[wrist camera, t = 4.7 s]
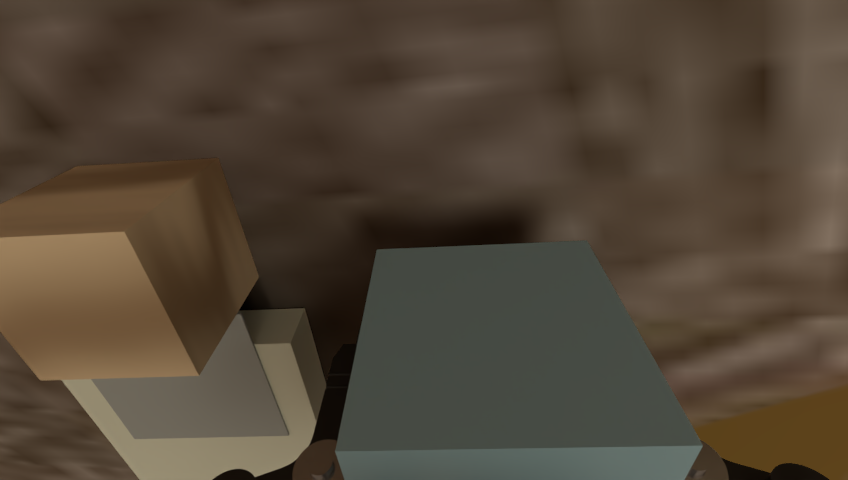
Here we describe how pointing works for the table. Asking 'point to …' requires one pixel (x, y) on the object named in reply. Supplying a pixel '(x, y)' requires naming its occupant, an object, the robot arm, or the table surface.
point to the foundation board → (218, 404)
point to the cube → (505, 373)
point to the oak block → (123, 270)
